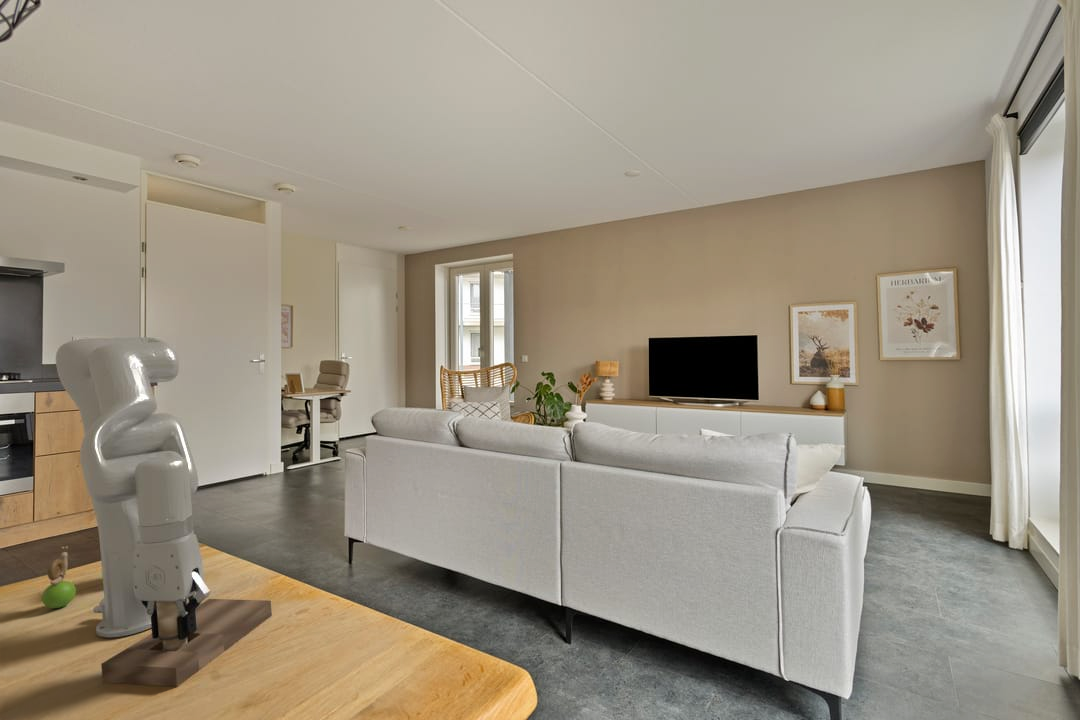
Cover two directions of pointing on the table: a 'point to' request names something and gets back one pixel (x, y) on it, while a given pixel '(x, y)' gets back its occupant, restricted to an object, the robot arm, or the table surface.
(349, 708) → the table surface
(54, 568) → the snail figurine
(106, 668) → the walnut board
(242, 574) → the table surface
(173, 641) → the beech leg
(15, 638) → the table surface
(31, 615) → the table surface
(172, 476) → the robot arm
